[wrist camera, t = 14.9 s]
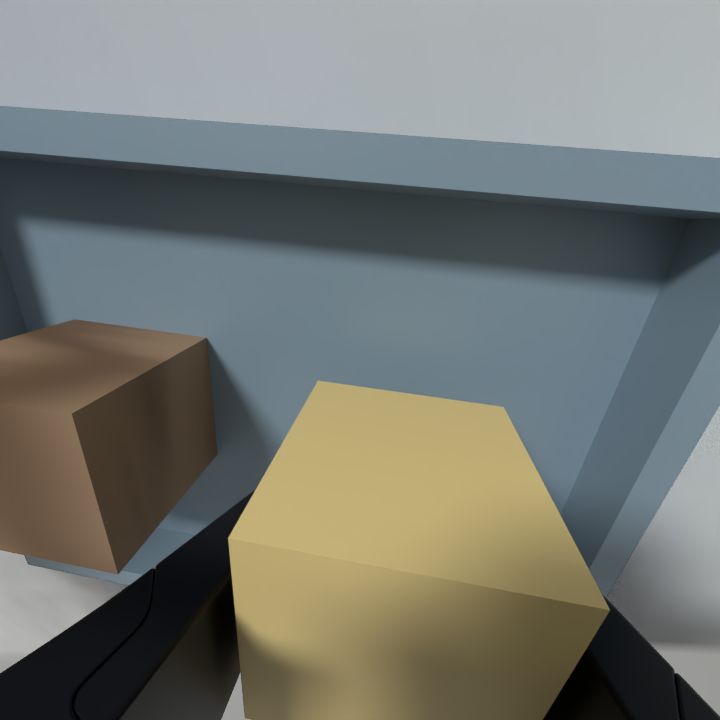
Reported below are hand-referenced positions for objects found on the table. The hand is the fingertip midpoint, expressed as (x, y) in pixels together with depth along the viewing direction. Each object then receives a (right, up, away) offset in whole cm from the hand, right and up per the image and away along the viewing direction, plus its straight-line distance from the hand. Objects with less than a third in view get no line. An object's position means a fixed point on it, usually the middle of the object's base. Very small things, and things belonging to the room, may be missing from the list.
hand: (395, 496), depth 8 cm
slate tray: (-3, +2, +4) cm, 5 cm away
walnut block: (-8, +2, +3) cm, 9 cm away
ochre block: (0, 0, +1) cm, 1 cm away
